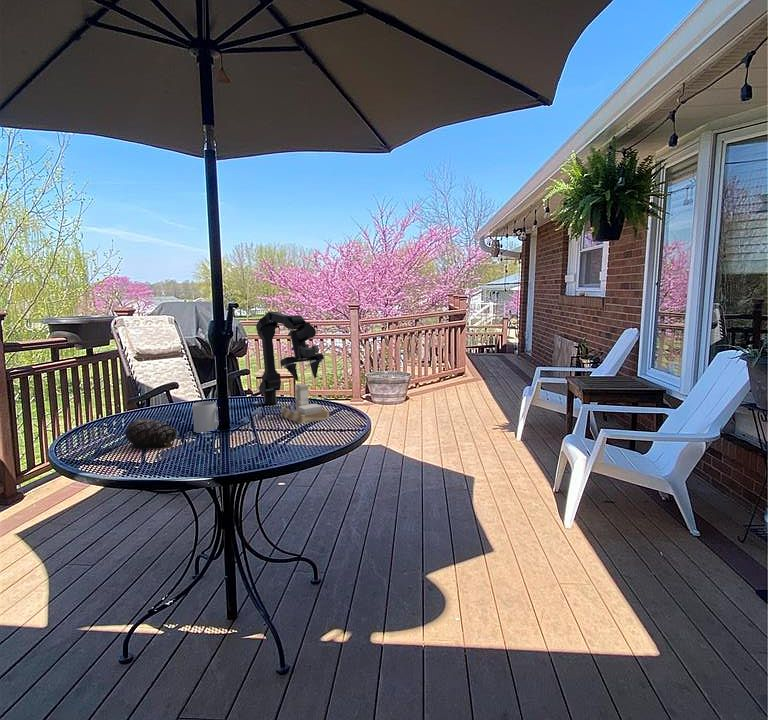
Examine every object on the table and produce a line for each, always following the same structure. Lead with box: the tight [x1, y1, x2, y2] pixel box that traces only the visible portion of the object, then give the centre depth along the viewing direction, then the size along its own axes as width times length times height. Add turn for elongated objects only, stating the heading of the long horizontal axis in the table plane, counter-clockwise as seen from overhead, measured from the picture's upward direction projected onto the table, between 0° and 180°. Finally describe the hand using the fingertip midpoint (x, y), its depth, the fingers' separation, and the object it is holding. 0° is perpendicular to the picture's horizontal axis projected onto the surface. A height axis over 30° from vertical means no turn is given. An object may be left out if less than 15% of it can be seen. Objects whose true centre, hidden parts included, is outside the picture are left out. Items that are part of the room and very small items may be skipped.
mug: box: [191, 400, 220, 433], centre depth 183 cm, size 12×8×11 cm
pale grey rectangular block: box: [294, 383, 310, 412], centre depth 201 cm, size 5×4×13 cm
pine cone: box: [124, 417, 178, 450], centre depth 167 cm, size 10×18×10 cm, turn 89°
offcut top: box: [298, 403, 323, 415], centre depth 196 cm, size 6×8×2 cm
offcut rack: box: [279, 403, 332, 425], centre depth 200 cm, size 20×14×4 cm
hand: (306, 379), depth 204 cm, fingers open, 9 cm apart
